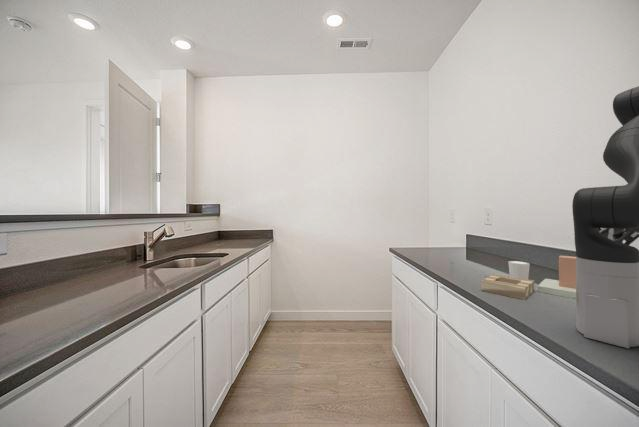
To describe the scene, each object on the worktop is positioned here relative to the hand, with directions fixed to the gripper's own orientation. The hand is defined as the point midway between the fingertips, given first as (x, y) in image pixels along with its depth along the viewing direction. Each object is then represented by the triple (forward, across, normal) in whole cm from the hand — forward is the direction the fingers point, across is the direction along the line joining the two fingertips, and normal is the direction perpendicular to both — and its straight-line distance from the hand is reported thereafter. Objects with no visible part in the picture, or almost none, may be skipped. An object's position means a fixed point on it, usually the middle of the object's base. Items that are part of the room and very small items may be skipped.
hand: (589, 252), depth 82 cm
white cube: (+20, -14, 0) cm, 24 cm away
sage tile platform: (+14, 0, +6) cm, 15 cm away
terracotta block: (+12, 0, +4) cm, 13 cm away
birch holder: (+27, +3, -8) cm, 28 cm away
